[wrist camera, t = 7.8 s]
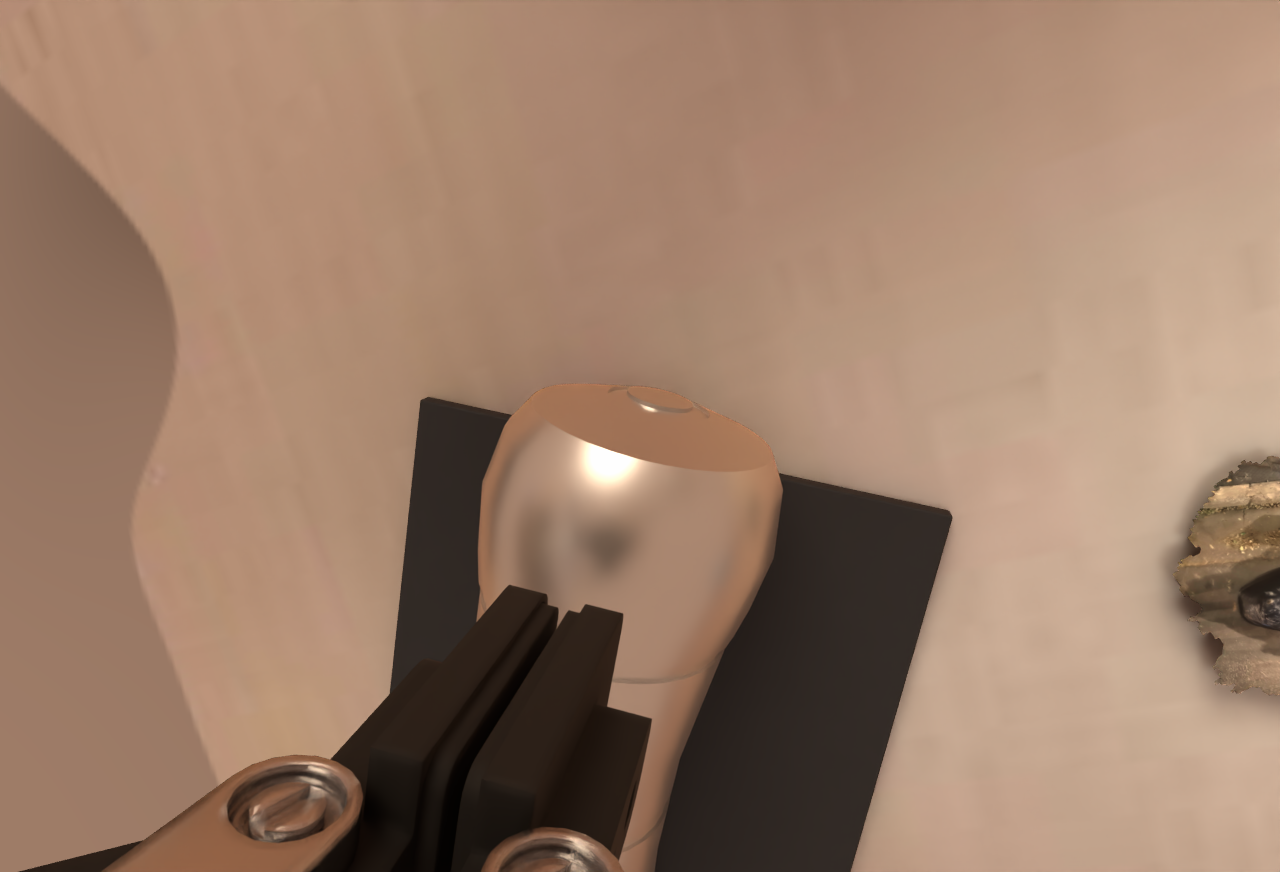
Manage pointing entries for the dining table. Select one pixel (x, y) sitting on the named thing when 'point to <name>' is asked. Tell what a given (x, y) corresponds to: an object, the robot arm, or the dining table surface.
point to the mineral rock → (1240, 575)
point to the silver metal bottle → (635, 547)
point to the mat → (728, 655)
